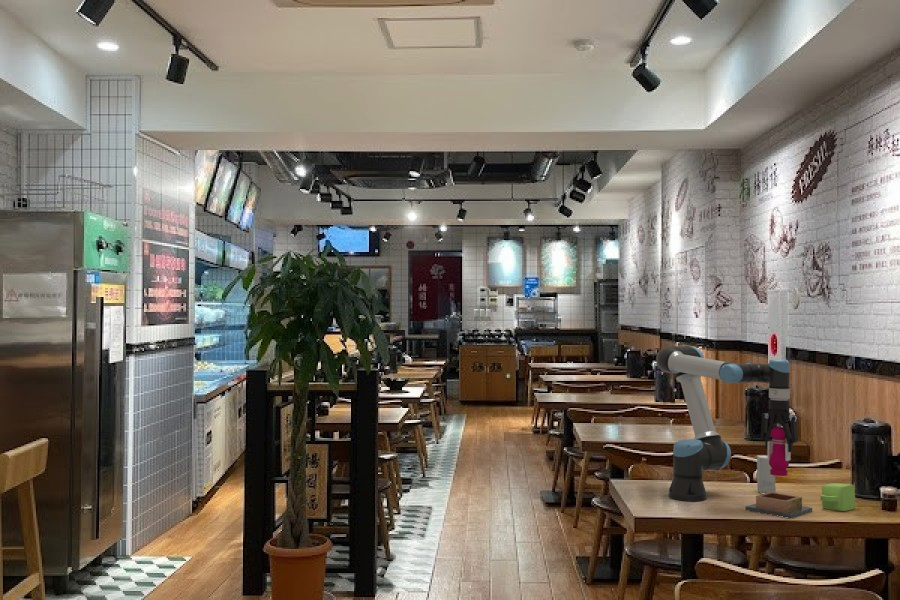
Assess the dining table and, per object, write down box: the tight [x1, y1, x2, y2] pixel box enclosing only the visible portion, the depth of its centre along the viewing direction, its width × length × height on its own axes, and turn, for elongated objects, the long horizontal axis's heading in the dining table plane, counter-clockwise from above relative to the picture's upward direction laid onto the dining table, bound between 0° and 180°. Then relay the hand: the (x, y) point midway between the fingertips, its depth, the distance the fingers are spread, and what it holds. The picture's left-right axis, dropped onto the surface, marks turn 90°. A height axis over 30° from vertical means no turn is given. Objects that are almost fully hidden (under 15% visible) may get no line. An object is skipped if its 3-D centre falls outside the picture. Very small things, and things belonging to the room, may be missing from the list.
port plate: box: [745, 492, 813, 519], centre depth 325 cm, size 18×18×6 cm
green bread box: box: [820, 482, 856, 512], centre depth 333 cm, size 18×10×10 cm, turn 131°
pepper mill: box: [769, 423, 790, 477], centre depth 326 cm, size 7×7×20 cm
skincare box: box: [756, 454, 777, 494], centre depth 361 cm, size 8×7×16 cm
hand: (778, 459), depth 326 cm, fingers closed on pepper mill, 6 cm apart
